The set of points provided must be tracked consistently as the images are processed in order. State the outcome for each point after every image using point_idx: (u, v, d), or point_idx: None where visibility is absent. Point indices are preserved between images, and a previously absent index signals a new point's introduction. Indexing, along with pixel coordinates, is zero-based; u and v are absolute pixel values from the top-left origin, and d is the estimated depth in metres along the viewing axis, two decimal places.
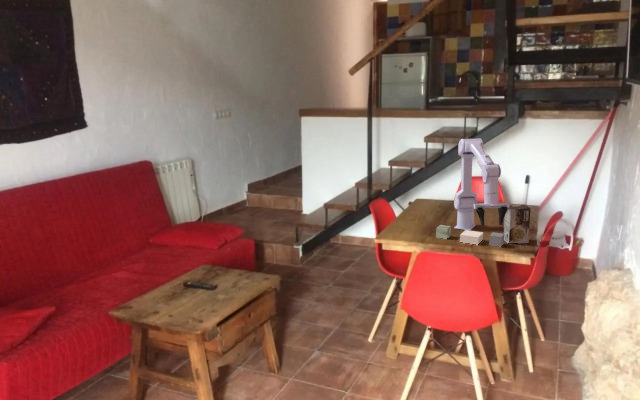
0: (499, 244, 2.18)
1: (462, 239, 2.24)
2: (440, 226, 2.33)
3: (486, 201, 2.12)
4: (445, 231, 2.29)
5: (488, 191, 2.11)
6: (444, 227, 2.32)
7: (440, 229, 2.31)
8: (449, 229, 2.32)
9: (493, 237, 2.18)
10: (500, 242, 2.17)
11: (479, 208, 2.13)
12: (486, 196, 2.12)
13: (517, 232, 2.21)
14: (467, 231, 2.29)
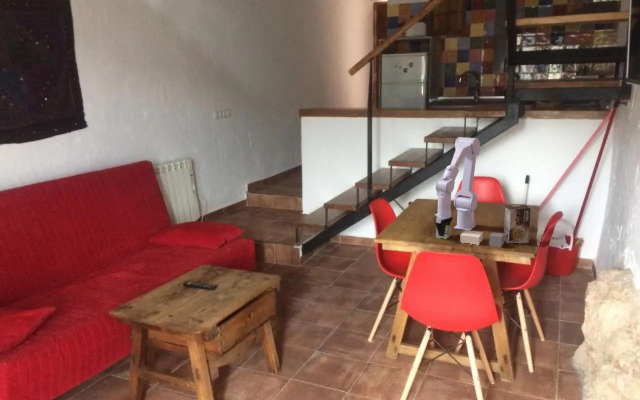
0: (499, 244, 2.18)
1: (463, 239, 2.24)
2: None
3: None
4: (445, 230, 2.29)
5: (438, 203, 2.30)
6: None
7: None
8: (449, 229, 2.32)
9: (493, 237, 2.18)
10: (500, 242, 2.17)
11: None
12: None
13: (517, 232, 2.21)
14: (467, 231, 2.29)
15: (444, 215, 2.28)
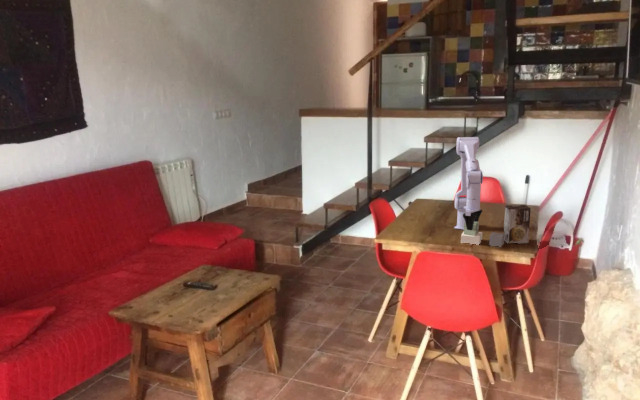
0: (499, 244, 2.18)
1: (463, 239, 2.24)
2: None
3: None
4: (474, 226, 2.22)
5: (469, 197, 2.20)
6: None
7: None
8: (477, 225, 2.24)
9: (493, 237, 2.18)
10: (500, 242, 2.17)
11: None
12: None
13: (517, 232, 2.21)
14: None
15: (474, 208, 2.20)
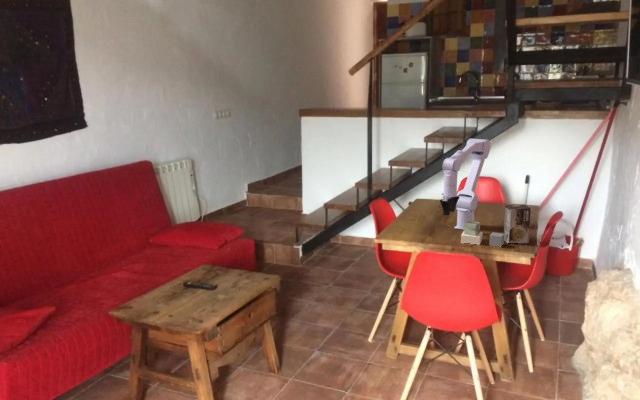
0: (499, 244, 2.18)
1: (464, 239, 2.24)
2: (469, 222, 2.26)
3: None
4: (474, 226, 2.22)
5: (444, 182, 2.31)
6: (473, 223, 2.24)
7: (468, 225, 2.23)
8: (478, 225, 2.24)
9: (493, 237, 2.18)
10: (500, 242, 2.17)
11: None
12: None
13: (517, 232, 2.21)
14: None
15: (450, 194, 2.29)
